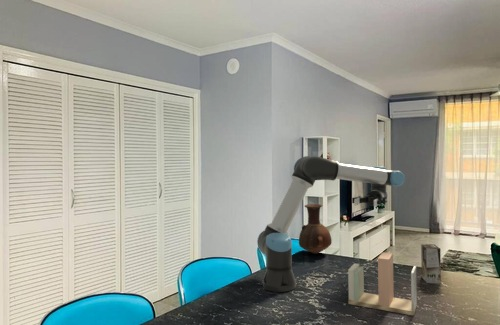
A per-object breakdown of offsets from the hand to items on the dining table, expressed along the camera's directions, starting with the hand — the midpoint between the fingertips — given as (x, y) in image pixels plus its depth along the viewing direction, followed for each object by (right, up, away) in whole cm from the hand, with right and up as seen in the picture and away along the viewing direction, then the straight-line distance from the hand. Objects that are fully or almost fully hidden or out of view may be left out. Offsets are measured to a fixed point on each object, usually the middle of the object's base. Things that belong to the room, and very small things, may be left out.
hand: (364, 202), depth 163 cm
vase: (-12, -38, +59) cm, 71 cm away
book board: (+1, -38, -20) cm, 43 cm away
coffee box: (+34, -38, +8) cm, 51 cm away
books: (-8, -37, -15) cm, 40 cm away
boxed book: (+2, -37, -20) cm, 42 cm away
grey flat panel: (+11, -36, -25) cm, 46 cm away
